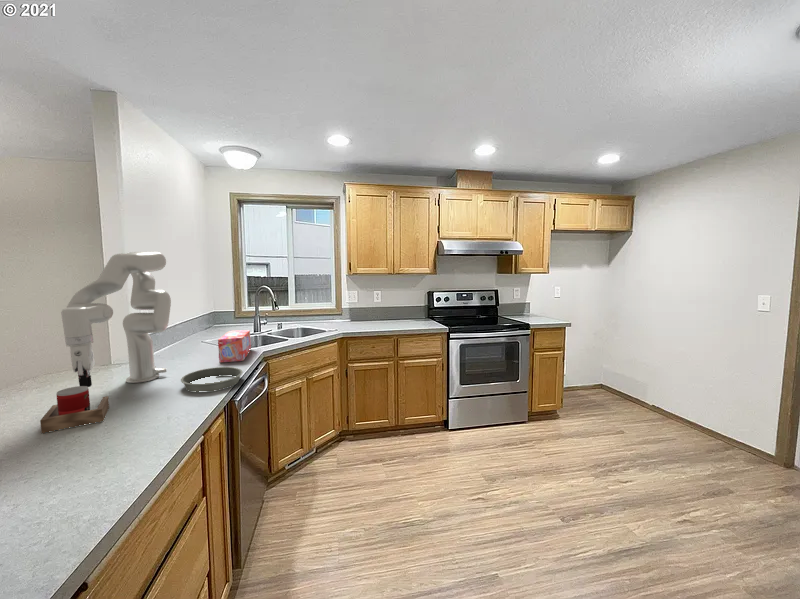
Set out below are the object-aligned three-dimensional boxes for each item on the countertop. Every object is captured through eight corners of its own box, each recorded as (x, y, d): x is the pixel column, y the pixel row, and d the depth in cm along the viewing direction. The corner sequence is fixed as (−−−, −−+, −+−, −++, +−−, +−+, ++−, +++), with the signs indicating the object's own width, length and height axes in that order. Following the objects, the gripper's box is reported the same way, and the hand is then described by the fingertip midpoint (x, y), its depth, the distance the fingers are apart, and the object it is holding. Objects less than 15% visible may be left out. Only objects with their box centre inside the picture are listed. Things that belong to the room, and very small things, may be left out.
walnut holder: (109, 407, 128) (108, 396, 128) (103, 421, 117) (102, 409, 116) (54, 417, 120) (52, 405, 119) (41, 433, 108) (40, 420, 108)
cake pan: (236, 391, 145) (236, 381, 145) (171, 396, 139) (171, 386, 139) (247, 373, 169) (247, 365, 168) (192, 377, 163) (192, 368, 163)
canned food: (92, 419, 118) (90, 389, 117) (60, 427, 112) (57, 396, 111) (89, 413, 123) (86, 384, 122) (58, 420, 117) (55, 390, 116)
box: (229, 351, 212) (228, 329, 210) (251, 350, 215) (250, 328, 213) (218, 363, 186) (217, 338, 184) (243, 361, 189) (242, 337, 187)
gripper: (89, 343, 122) (95, 391, 124) (96, 334, 134) (102, 378, 137) (60, 346, 118) (67, 396, 120) (70, 337, 130) (77, 382, 133)
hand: (86, 386), depth 128 cm, fingers closed
